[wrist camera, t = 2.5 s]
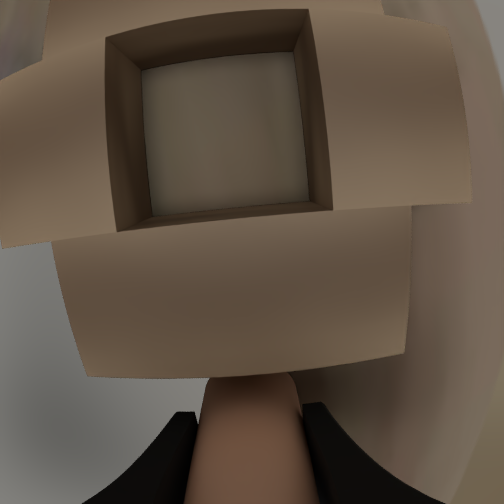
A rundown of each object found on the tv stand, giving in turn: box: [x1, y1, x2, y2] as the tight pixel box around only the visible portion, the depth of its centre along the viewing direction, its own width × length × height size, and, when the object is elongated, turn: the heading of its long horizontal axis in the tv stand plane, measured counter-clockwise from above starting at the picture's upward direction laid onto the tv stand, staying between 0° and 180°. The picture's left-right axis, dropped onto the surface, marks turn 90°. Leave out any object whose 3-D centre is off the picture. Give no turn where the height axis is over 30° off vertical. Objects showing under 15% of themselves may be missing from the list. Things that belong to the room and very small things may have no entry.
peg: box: [183, 372, 320, 504], centre depth 8 cm, size 4×4×7 cm
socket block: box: [0, 0, 472, 379], centre depth 8 cm, size 13×13×3 cm
